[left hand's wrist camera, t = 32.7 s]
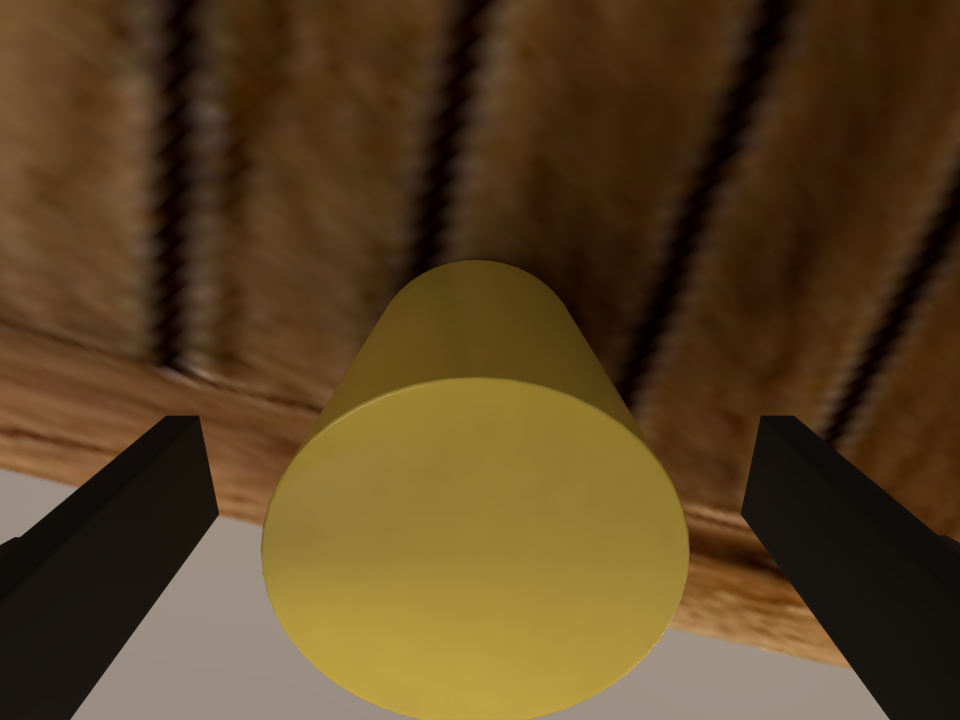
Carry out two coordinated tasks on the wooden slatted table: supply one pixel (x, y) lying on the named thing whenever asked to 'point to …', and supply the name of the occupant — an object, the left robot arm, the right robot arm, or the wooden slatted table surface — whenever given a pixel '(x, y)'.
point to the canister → (475, 512)
